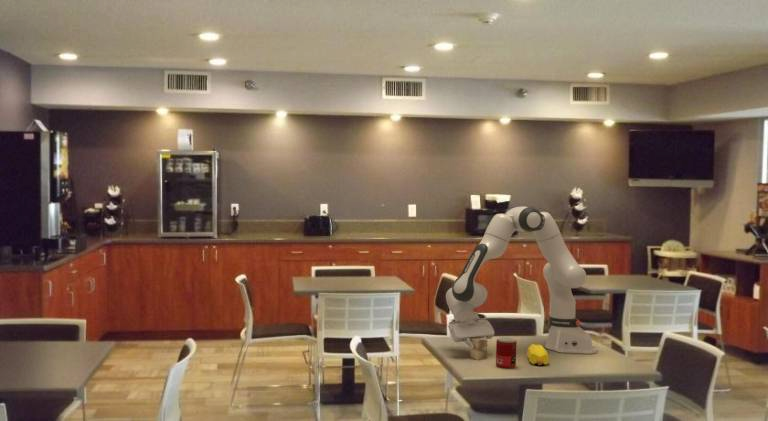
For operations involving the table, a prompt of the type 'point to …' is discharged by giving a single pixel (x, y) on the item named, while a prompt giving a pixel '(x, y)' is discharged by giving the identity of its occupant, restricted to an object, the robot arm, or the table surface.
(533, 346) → the yellow lumpy piece
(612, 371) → the table surface
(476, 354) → the beige cylinder
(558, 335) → the robot arm
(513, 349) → the canned food
